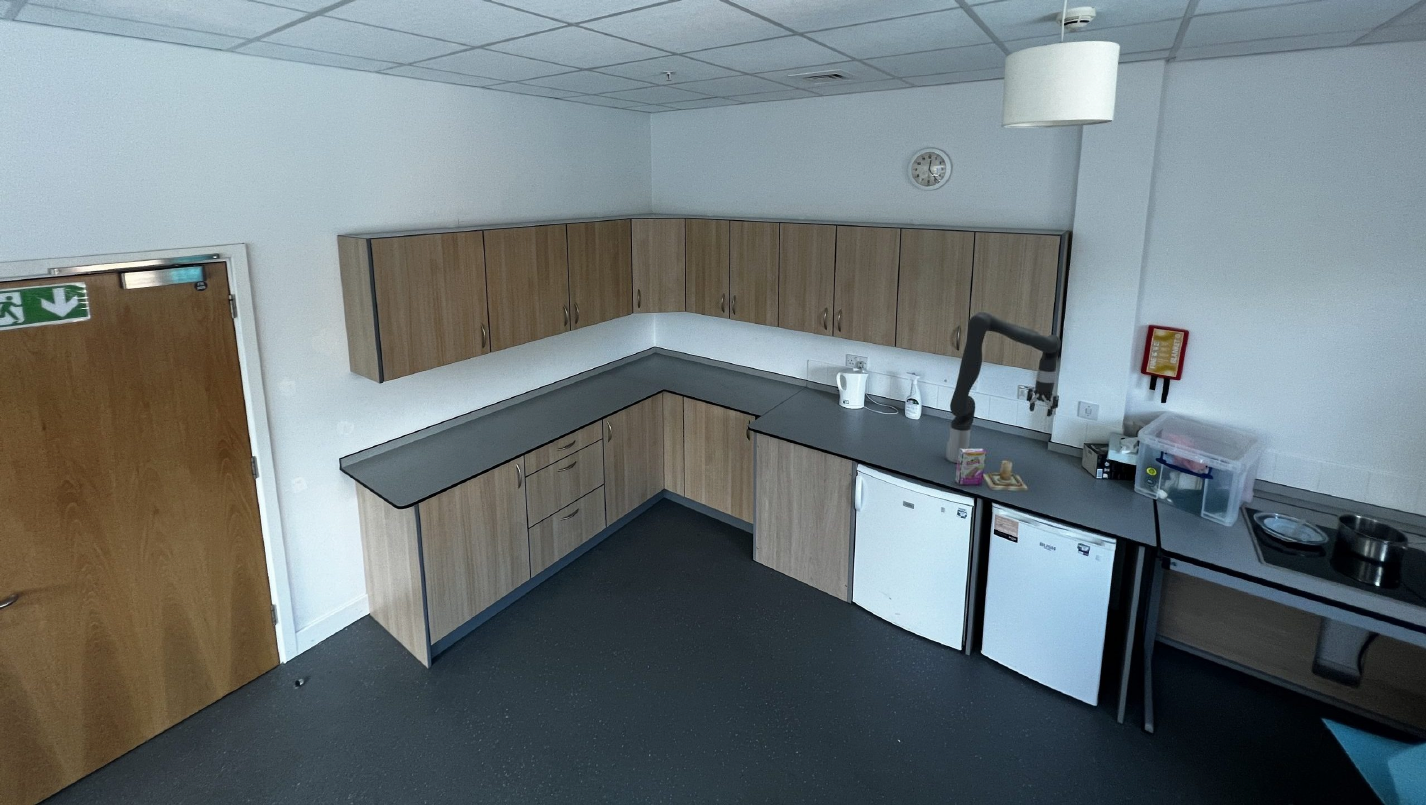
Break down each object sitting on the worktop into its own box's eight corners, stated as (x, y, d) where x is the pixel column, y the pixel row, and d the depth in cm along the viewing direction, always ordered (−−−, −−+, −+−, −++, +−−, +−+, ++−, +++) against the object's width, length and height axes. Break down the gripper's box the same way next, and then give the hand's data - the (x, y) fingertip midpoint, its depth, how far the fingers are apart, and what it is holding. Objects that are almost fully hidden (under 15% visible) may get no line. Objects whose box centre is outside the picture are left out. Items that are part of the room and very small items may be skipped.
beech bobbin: (994, 479, 329) (996, 461, 326) (1003, 476, 332) (1005, 458, 329) (1006, 484, 324) (1008, 466, 321) (1015, 481, 327) (1017, 463, 324)
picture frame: (990, 489, 322) (991, 484, 322) (982, 476, 336) (983, 471, 335) (1027, 490, 321) (1027, 485, 320) (1017, 477, 334) (1018, 472, 333)
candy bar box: (958, 485, 327) (962, 452, 322) (954, 480, 332) (958, 448, 326) (982, 484, 327) (986, 452, 322) (978, 480, 332) (982, 447, 327)
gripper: (1026, 377, 323) (1021, 410, 328) (1054, 384, 311) (1049, 419, 316) (1036, 374, 326) (1031, 407, 332) (1065, 382, 315) (1059, 416, 320)
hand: (1040, 413), depth 324 cm, fingers open, 8 cm apart
